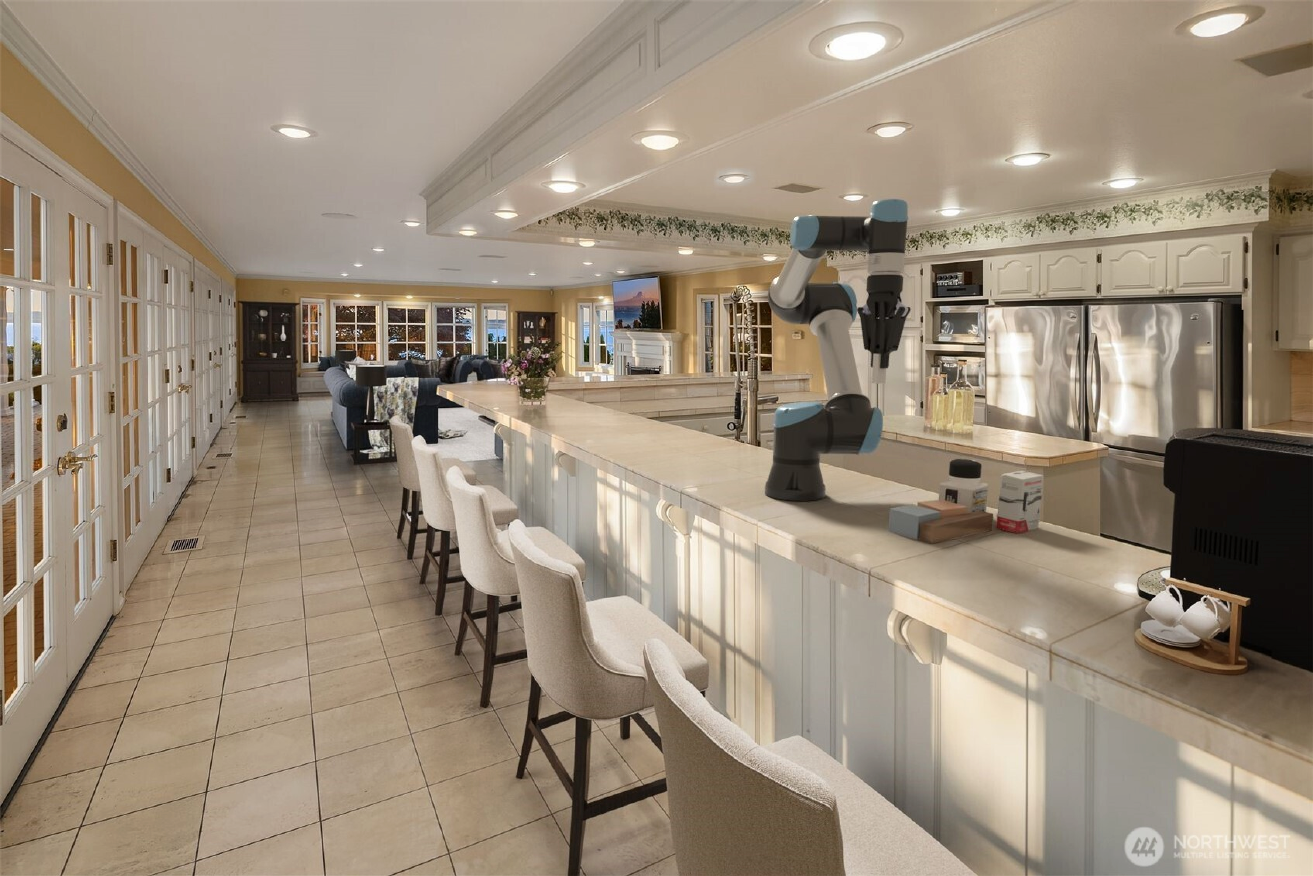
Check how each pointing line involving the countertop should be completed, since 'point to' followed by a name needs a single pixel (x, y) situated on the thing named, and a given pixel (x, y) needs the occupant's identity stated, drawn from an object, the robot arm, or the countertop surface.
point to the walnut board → (955, 526)
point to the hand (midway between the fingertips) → (878, 382)
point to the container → (965, 485)
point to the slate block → (910, 519)
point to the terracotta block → (944, 507)
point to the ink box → (1019, 501)
